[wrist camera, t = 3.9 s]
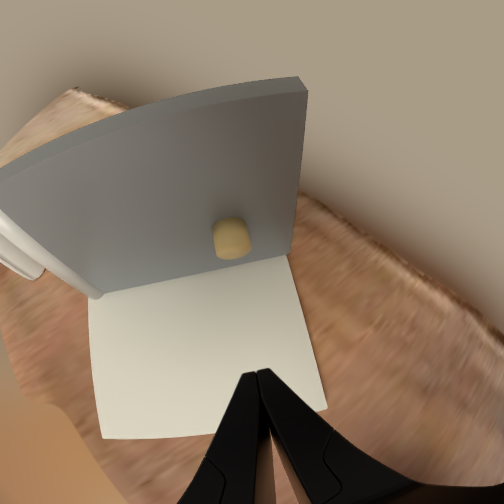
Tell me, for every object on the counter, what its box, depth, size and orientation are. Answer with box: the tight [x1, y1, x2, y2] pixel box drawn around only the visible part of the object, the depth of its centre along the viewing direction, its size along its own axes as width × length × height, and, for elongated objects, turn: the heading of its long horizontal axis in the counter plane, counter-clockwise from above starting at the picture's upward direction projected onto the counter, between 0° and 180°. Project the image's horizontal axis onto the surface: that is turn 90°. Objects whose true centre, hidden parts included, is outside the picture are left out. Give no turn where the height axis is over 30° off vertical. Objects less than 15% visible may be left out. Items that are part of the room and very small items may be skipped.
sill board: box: [88, 255, 328, 439], centre depth 21 cm, size 14×17×1 cm
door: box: [0, 77, 308, 300], centre depth 16 cm, size 3×17×14 cm, turn 102°
